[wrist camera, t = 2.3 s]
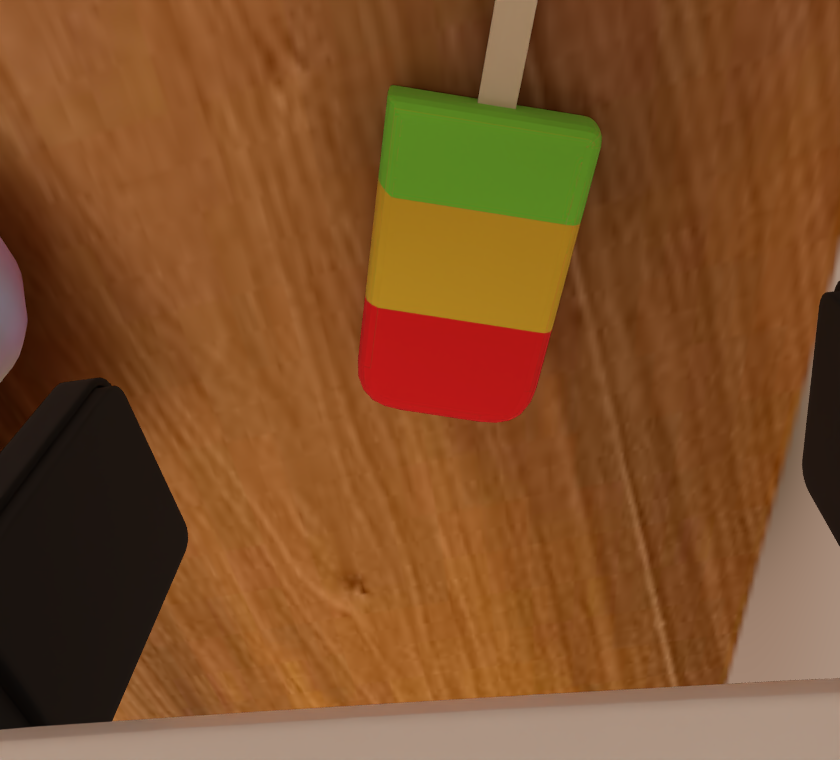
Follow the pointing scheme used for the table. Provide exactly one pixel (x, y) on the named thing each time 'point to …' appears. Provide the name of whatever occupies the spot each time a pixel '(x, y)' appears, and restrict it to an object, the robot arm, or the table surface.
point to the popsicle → (472, 238)
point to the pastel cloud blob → (10, 311)
